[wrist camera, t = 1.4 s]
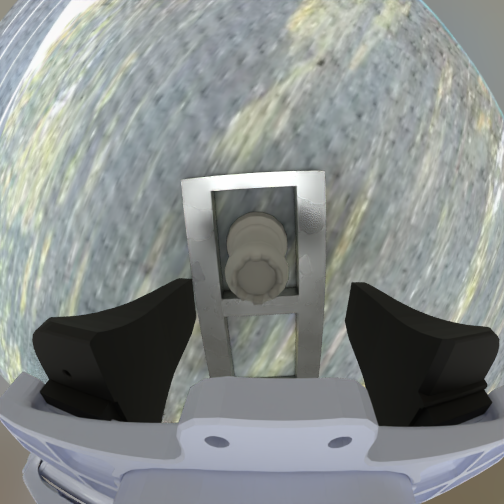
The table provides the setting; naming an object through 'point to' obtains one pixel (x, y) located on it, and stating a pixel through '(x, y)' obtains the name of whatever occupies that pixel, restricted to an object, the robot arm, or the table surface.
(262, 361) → the table surface
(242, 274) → the rook chess piece
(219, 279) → the hole rail
